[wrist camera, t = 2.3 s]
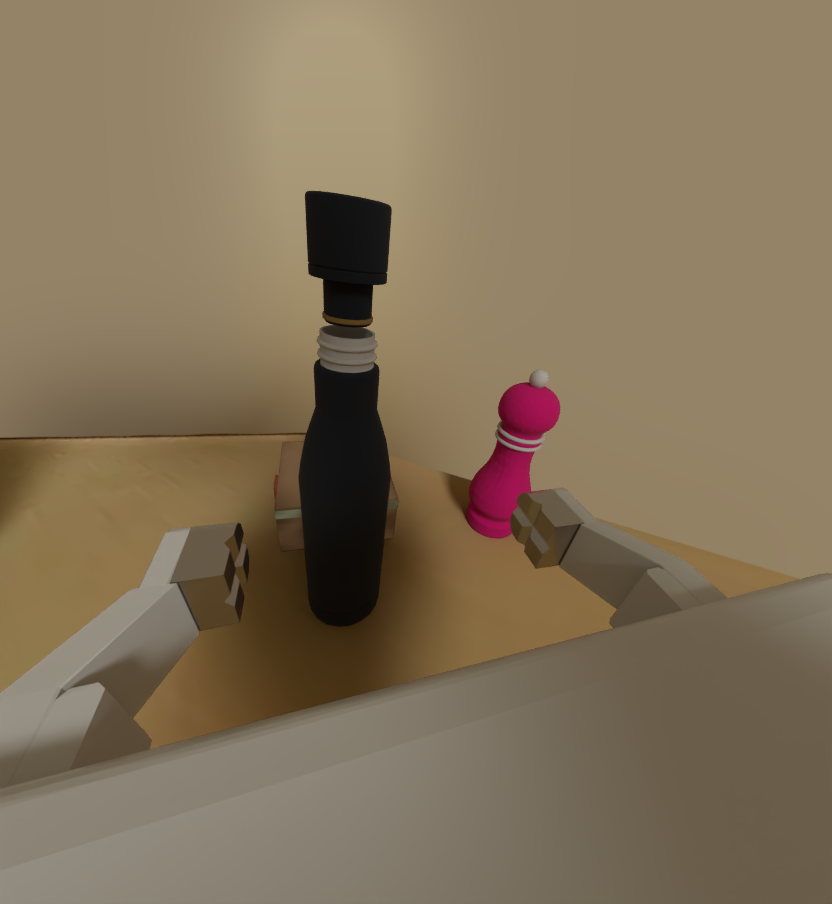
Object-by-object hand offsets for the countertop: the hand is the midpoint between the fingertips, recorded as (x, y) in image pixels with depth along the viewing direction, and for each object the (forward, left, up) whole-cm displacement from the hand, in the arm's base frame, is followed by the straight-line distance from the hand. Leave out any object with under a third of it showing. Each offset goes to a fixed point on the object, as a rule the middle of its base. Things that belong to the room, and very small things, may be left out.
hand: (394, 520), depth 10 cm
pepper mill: (+19, +19, -22) cm, 35 cm away
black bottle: (0, +12, -22) cm, 25 cm away
